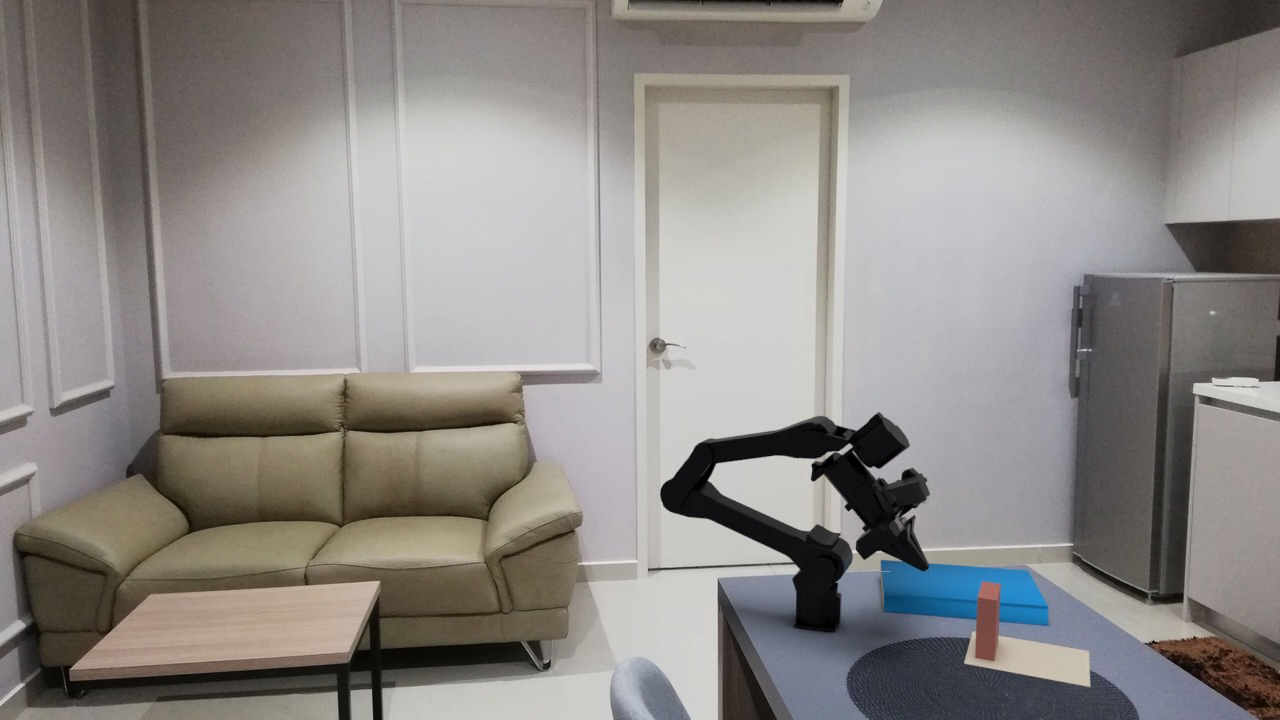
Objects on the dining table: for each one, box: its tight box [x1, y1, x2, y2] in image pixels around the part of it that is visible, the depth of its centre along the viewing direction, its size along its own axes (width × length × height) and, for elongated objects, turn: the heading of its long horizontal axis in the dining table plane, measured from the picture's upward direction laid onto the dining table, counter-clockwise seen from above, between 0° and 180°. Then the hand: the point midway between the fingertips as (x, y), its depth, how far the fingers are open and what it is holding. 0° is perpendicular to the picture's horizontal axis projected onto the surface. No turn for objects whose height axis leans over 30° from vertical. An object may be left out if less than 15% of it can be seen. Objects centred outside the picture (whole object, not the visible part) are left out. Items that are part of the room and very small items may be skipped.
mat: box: [963, 631, 1091, 688], centre depth 128 cm, size 16×12×1 cm
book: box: [879, 559, 1049, 626], centre depth 150 cm, size 17×4×25 cm
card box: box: [975, 581, 1001, 661], centre depth 130 cm, size 3×7×9 cm, turn 154°
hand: (926, 569), depth 133 cm, fingers closed
